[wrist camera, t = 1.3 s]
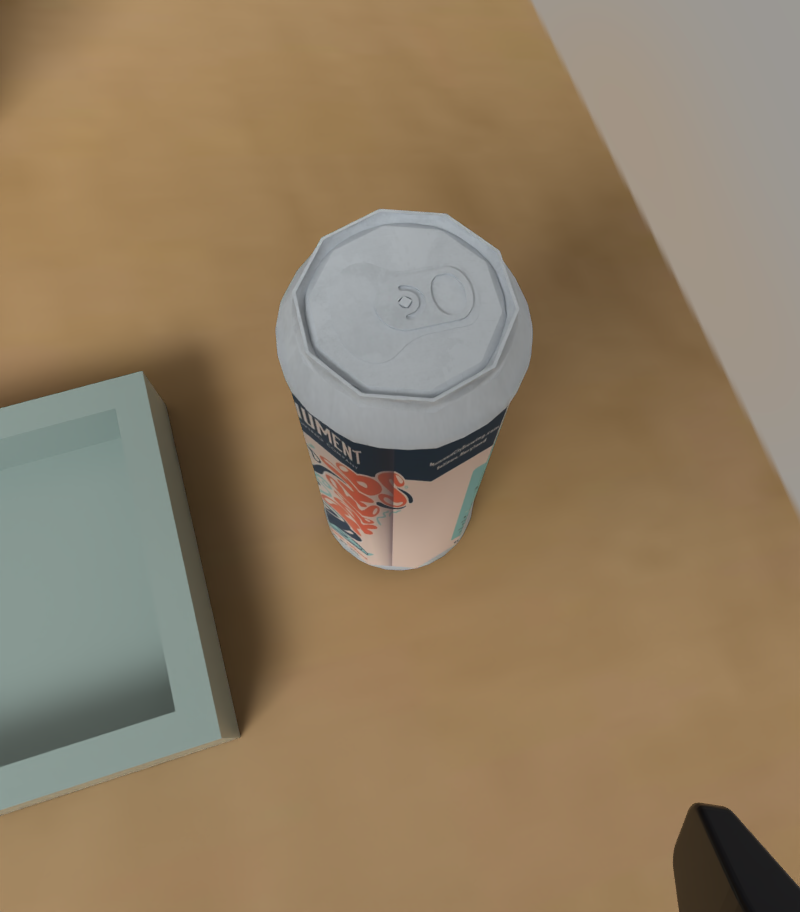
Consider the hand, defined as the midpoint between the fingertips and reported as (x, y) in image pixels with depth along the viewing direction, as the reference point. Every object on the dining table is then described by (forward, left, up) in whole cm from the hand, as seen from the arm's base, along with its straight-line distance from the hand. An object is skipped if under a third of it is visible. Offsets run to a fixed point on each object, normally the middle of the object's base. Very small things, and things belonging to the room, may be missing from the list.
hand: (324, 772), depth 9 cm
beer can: (+7, -3, -13) cm, 15 cm away
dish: (+7, +9, -13) cm, 17 cm away
